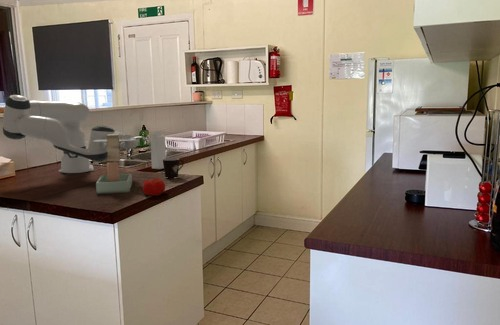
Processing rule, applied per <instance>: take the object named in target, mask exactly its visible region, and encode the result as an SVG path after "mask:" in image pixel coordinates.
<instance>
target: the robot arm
mask: <svg viewBox="0 0 500 325" xmlns="http://www.w3.org/2000/svg"><path fill="white" fill-rule="evenodd" d="M4 103H5V106H4V110H3V115H2V116H3V120H2V133H3V135H4V136H5V137H6V138H7V139H10V140H21V139H24V138H26V137H28V138H29V137H30V138H32V139H33V138H34V139H37V140H38V139H39V140H42V141H43V140H44V141H47V142H49V143H51V144H52V145H53V148H55V149H57V150H60V151H62V153H63V155H62V156H61V157H60V161H61V162H60V165H61V167H60V169H58V173H63V174H64V173H65V174H81V173H86V172H91V171H92V172H93V171H95V169H94V165H93V164H91V161H93V162H96V163H103V162H104V161H106V160H108V150H107V135H108V134H119V147H120V151H124V150H130V149H135V148H137V139H136V137H135V136H134V135H133V134H132V135H131V134H125V133H124V132H122V131H117V130H116V131H115V129H113V128H112V127H110V126H106V125H96V126H94V127H93V128H91V130H90V135H89V143H88V148H87V146H86V140H85V131H84V130H83V128H82V127H81V126H82V125H81V123H82V122H85V121H87V120H88V119H89V117H90V109H89V107H88V106H87V105H86V104H84V103H82V102H75V101H52V100H29V99H28V98H27V97H26V96H23V95H18V94H12V95H11V94H10V96H9V95H8V97H6V100H5V102H4ZM90 160H91V161H90Z"/></svg>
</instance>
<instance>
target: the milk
mask: <svg viewBox="0 0 500 325" xmlns="http://www.w3.org/2000/svg"><path fill="white" fill-rule="evenodd" d="M150 154H151V158H150V159H151V169H155V170H162V169H163V170H164V165H163V159H164V158H167V157H166V156H167V154H166V136H165V135H164V134H163V133H162V130H154V131H153V134H152V135H151V136H150Z"/></svg>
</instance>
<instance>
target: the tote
mask: <svg viewBox="0 0 500 325" xmlns="http://www.w3.org/2000/svg"><path fill="white" fill-rule="evenodd" d="M132 176H133V175H132V173H119V181H116V182H108V175H107V174H101V175H99V178H98V180H97V181H96V183H95V188H96V189H95V190H96V194H97V195H98V194H99V195H101V194H121V193H130V192H131V189H130V188H132V184H133V178H132Z"/></svg>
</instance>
